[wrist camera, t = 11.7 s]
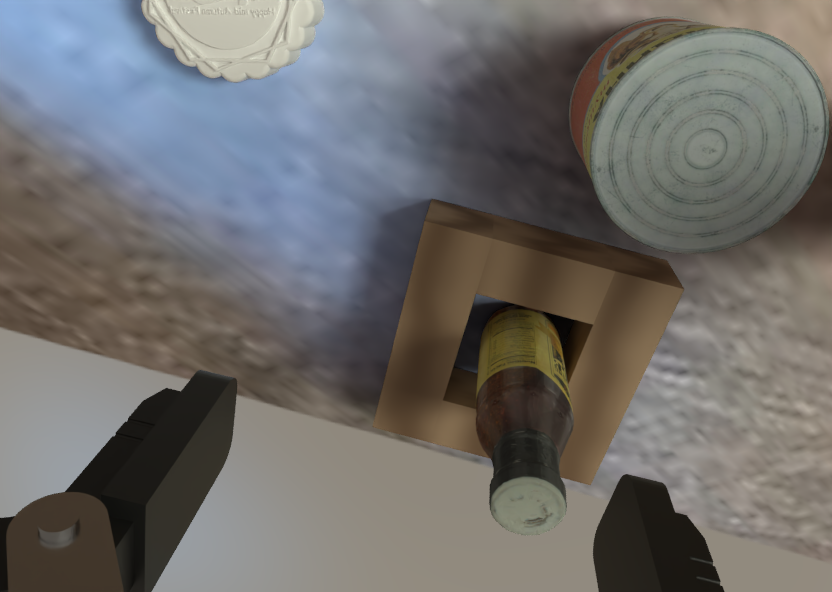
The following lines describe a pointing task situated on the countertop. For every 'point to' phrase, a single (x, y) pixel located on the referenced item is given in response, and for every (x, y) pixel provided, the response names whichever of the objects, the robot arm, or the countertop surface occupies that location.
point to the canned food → (698, 131)
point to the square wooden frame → (534, 288)
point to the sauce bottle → (524, 418)
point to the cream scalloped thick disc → (235, 33)
